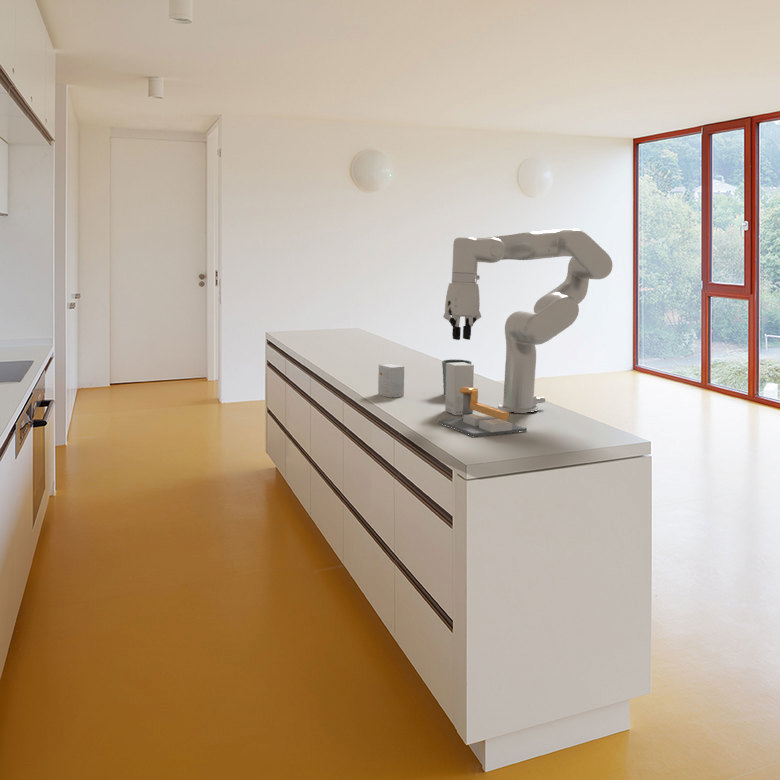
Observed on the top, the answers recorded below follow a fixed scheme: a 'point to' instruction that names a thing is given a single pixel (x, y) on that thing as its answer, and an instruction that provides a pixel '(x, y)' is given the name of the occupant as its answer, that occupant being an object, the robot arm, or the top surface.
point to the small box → (391, 380)
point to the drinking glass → (445, 370)
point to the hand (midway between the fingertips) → (461, 338)
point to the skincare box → (457, 385)
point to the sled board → (476, 428)
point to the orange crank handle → (481, 407)
